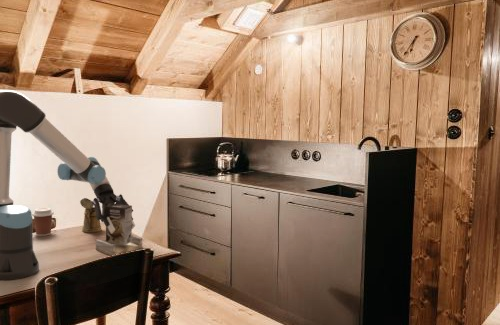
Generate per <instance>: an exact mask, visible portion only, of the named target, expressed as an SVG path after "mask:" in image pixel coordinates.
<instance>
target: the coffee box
mask: <svg viewBox="0 0 500 325" xmlns="http://www.w3.org/2000/svg"><path fill="white" fill-rule="evenodd" d="M132 209H133V206H132V205H119V204H115V203H114V204H112V205H109V206H106V213H107V217H109V218H110V220H111V222H112V224H113V226H114V228H115V231H114V232H113V233H112V234H111V233H110V231H109V229H108V227H106V226H105V242H107V243H110V244H115V245H127V244H128V243H130V242H132V235H133V232H132V231H133V229H132V218H133V212H132ZM107 217H106V218H107Z"/></svg>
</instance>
